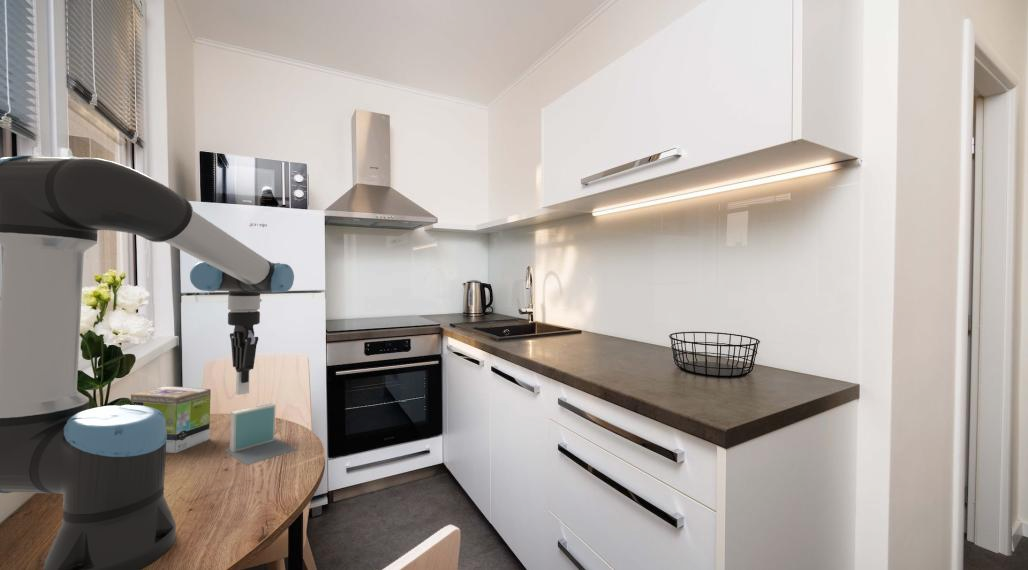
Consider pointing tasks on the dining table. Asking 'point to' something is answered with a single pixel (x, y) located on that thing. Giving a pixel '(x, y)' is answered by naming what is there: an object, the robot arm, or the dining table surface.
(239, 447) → the tile
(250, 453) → the mat
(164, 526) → the robot arm
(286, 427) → the dining table surface
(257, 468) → the dining table surface
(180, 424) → the tea box
